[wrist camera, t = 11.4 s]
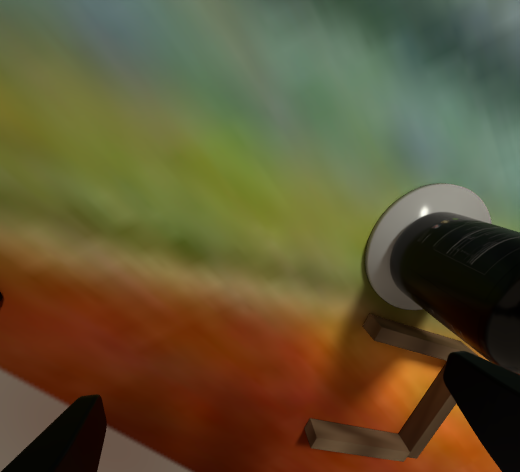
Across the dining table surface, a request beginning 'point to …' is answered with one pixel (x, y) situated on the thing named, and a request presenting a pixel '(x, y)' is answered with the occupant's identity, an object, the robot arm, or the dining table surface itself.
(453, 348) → the wooden u-shaped frame
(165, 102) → the dining table surface
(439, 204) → the coaster
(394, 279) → the supplement bottle
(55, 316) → the dining table surface
